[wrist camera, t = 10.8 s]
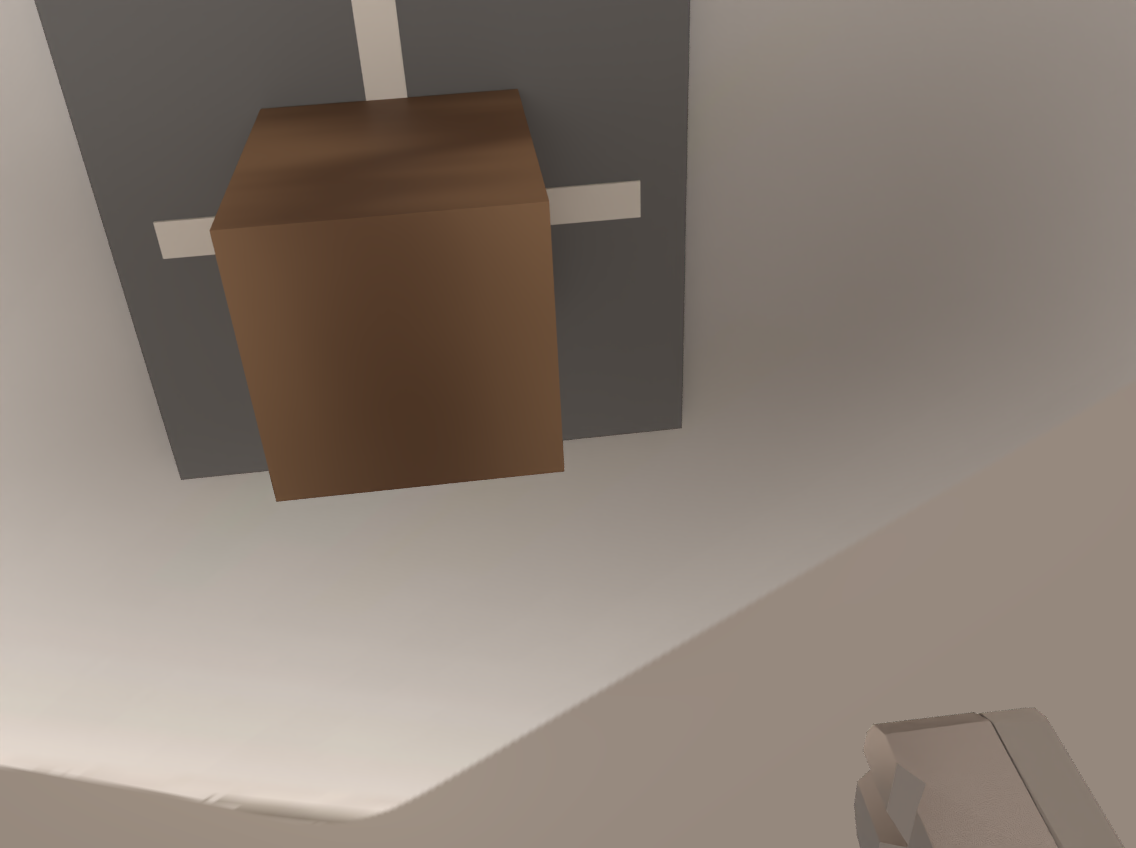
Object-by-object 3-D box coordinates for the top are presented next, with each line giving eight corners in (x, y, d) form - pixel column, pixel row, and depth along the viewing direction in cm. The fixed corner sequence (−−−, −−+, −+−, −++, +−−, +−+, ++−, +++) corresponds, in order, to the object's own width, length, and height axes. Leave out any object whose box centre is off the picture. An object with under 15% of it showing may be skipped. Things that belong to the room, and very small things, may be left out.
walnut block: (517, 88, 21) (549, 201, 16) (533, 315, 24) (564, 471, 19) (260, 109, 20) (209, 230, 15) (307, 336, 23) (276, 501, 18)
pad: (687, -124, 19) (693, -121, 19) (678, 419, 26) (682, 429, 26) (18, -81, 19) (9, -77, 18) (184, 470, 25) (181, 481, 25)
